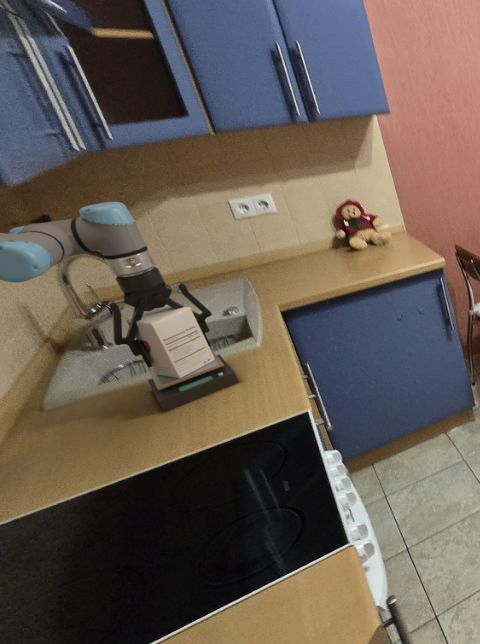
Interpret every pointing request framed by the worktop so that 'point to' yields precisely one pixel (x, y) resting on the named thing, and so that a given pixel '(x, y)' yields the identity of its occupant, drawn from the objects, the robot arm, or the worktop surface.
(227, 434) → the worktop surface
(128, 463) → the worktop surface
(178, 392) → the scale base
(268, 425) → the worktop surface
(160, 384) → the scale pan
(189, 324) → the rectangular carton
